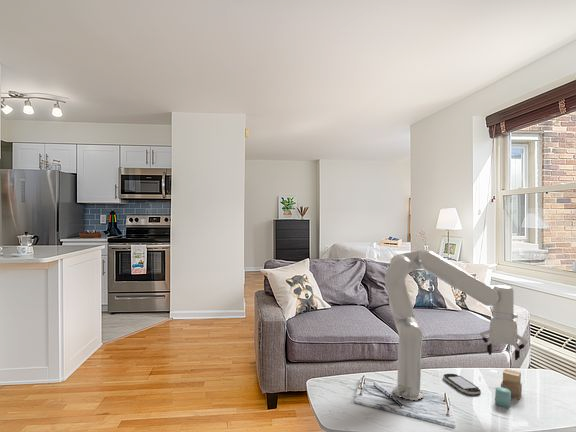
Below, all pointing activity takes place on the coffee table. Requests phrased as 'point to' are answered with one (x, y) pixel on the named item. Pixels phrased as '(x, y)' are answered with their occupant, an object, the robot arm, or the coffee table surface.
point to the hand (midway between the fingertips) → (503, 356)
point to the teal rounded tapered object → (503, 397)
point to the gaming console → (462, 384)
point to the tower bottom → (513, 390)
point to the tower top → (511, 378)
